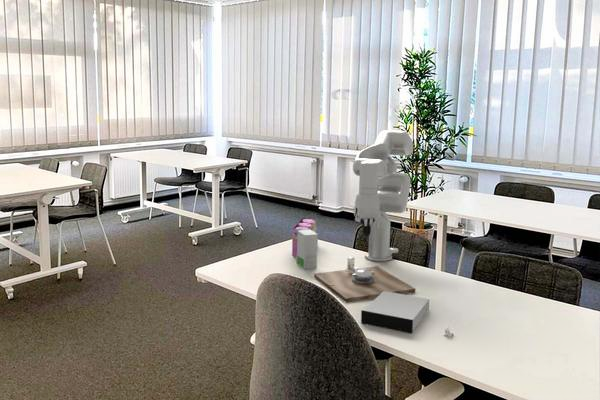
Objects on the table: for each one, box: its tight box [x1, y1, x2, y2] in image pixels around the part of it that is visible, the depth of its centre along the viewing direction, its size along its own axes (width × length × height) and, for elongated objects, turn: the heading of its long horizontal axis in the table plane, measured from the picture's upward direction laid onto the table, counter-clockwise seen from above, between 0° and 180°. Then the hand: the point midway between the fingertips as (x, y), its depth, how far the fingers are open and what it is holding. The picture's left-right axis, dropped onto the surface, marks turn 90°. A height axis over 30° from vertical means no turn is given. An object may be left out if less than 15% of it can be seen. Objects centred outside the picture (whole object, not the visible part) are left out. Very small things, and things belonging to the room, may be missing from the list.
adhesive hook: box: [443, 326, 454, 337], centre depth 185 cm, size 3×3×3 cm
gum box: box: [291, 217, 318, 258], centre depth 277 cm, size 24×8×14 cm, turn 168°
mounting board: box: [313, 265, 416, 303], centre depth 231 cm, size 30×30×2 cm
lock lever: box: [347, 256, 374, 281], centre depth 234 cm, size 16×9×5 cm, turn 22°
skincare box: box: [296, 229, 319, 270], centre depth 253 cm, size 8×7×16 cm
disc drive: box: [360, 291, 430, 335], centre depth 199 cm, size 18×22×5 cm
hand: (366, 234), depth 240 cm, fingers closed
